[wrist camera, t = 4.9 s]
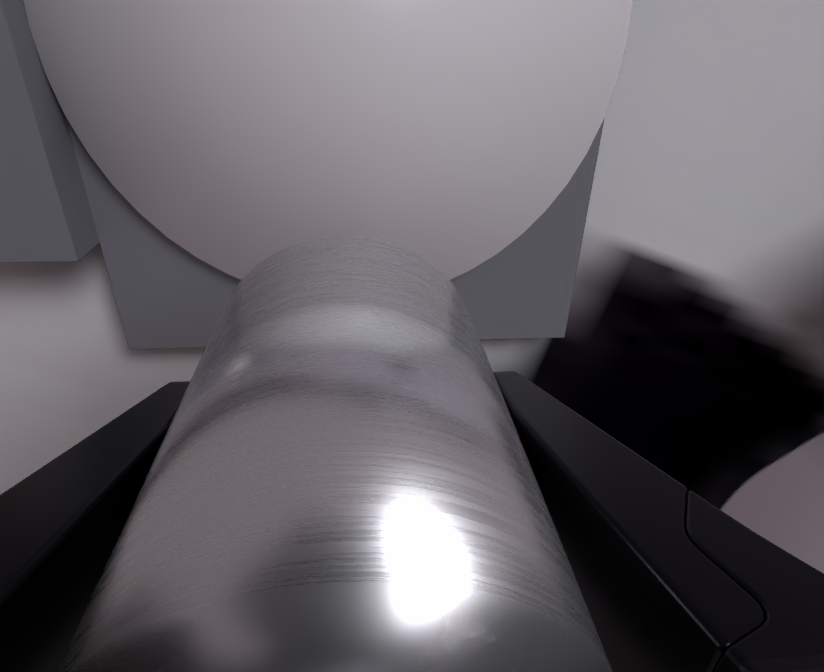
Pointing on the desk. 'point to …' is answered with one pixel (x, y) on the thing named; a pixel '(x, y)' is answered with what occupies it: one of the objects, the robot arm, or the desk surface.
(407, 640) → the cylinder
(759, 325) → the desk surface
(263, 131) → the scale
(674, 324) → the desk surface
